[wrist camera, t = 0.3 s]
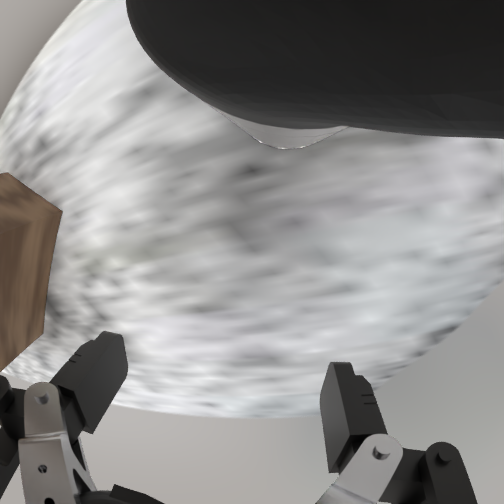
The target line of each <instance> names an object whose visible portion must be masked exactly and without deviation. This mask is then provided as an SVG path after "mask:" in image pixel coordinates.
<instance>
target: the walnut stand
mask: <svg viewBox="0 0 504 504" xmlns="http://www.w3.org/2000/svg"><path fill="white" fill-rule="evenodd" d="M61 215H62V211H61V210H60V209H58V208H57V207H55V206H54V205H52V204H51V203H49V202H48V201H46V200H45V199H44V198H42V197H41V196H39V195H38V194H36V193H35V192H34V191H32V190H31V189H29V188H28V187H27V186H25V185H24V184H22V183H21V182H20V181H18V180H17V179H15V178H14V177H13V176H11V175H10V174H9V173H3V174H0V372H1V371H2V370H3V369H4V368H5V367H6V366H7V365H9V364H10V363H11V362H12V361H13V360H14V359H15V358H16V357H17V356H18V355H19V354H20V353H22V352H23V351H24V350H25V349H26V348H27V347H28V346H29V345H30V344H32V343H33V342H34V341H35V340H36V339H37V338H38V337H39V336H41V335H42V334H43V328H44V316H45V305H46V296H47V289H48V281H49V275H50V268H51V262H52V257H53V252H54V246H55V242H56V237H57V232H58V228H59V223H60V219H61Z"/></svg>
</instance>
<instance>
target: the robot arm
mask: <svg viewBox="0 0 504 504" xmlns="http://www.w3.org/2000/svg"><path fill="white" fill-rule="evenodd" d="M126 7H127V14H128V17H129V20H130V24H131V27H132V29H133V31H134V33H135V35H136V38H137V40H138V41H139V43H140V44H141V46H142V47H143V49H144V51H145V52H146V53H147V54H148V56H149V57H150V58H151V59H152V60H153V61H154V63H155V64H156V65H157V66H158V67H159V68H160V69H161V70H163V71H164V72H165V73H166V74H167V75H168V76H169V77H171V78H172V79H173V80H174V81H176V82H177V83H178V84H180V85H181V86H182V87H183V88H185V89H186V90H188V91H189V92H191V93H192V94H194V95H195V96H197V97H198V98H200V99H201V100H202V101H204V102H205V103H207V104H208V105H209V106H211V107H212V108H214V109H215V110H217V111H218V112H219V113H221V114H222V115H224V116H225V117H227V118H228V119H229V120H231V121H232V122H233V123H235V124H236V125H237V126H239V127H240V128H242V129H243V130H244V131H245V132H247V133H248V134H249V135H251V136H252V137H253V138H254V139H255V140H257V141H259V142H261V143H263V144H266V145H268V146H271V147H274V148H279V149H299V148H303V147H307V146H309V145H311V144H314V143H316V142H318V141H320V140H323V139H325V138H327V137H329V136H331V135H333V134H335V133H337V132H339V131H341V130H344V129H346V128H348V127H356V128H364V129H372V130H380V131H387V132H396V133H404V134H415V135H426V136H443V137H474V138H498V139H504V0H126ZM127 372H128V362H127V357H126V352H125V346H124V340H123V337H122V335H120V334H116V333H112V332H107V331H103V332H102V333H101V334H100V335H99V336H98V337H97V338H96V339H95V340H94V341H93V340H90V341H89V342H87V343H85V344H83V345H81V346H80V348H79V349H78V350H77V351H76V352H75V353H74V355H72V357H71V358H70V359H69V361H67V362H66V363H65V364H64V366H63V367H62V368H61V369H60V370H59V371H58V373H57V374H56V375H55V376H54V377H53V378H52V380H51V381H50V382H49V383H48V382H38V383H35V384H33V385H31V386H30V387H29V388H28V389H27V390H23V389H16V388H11V386H10V384H9V382H8V380H7V379H6V377H4V376H1V375H0V425H1V428H0V499H1V497H2V495H3V493H4V491H5V489H6V488H7V486H8V484H9V482H10V480H11V478H12V476H13V474H14V473H15V471H16V469H17V467H18V466H19V464H20V469H21V478H22V485H23V490H24V497H25V502H26V504H164V503H162V502H160V501H158V500H156V499H154V498H152V497H150V496H148V495H146V494H143V493H140V492H137V491H134V490H130V489H127V488H124V487H121V486H118V485H116V484H114V486H113V489H112V491H97V489H96V486H95V484H94V483H93V481H92V478H91V476H90V472H89V469H88V466H87V462H86V459H85V455H84V451H83V448H82V444H81V439H80V437H79V435H80V433H81V431H85V432H88V433H90V434H93V433H94V431H95V429H96V427H97V425H98V424H99V422H100V420H101V419H102V417H103V415H104V414H105V412H106V410H107V409H108V407H109V405H110V404H111V402H112V400H113V398H114V397H115V395H116V393H117V392H118V390H119V389H120V387H121V385H122V384H123V382H124V380H125V379H126V376H127ZM320 410H321V416H322V423H323V431H324V438H325V446H326V454H327V462H328V469H329V473H339V477H338V478H337V479H336V481H335V482H334V483H333V484H332V485H331V486H330V487H329V488H328V489H327V491H326V492H325V493H324V494H323V495H322V496H321V498H320V499H319V500H318V501H317V503H315V504H377V502H378V501H379V502H388V503H391V504H477V500H476V498H475V494H474V491H473V488H472V486H471V482H470V479H469V477H468V474H467V471H466V468H465V466H464V463H463V460H462V458H461V455H460V453H459V451H458V450H457V449H456V447H454V446H453V445H451V444H449V443H446V442H437V443H434V444H432V445H431V446H430V447H429V448H428V449H427V450H426V451H420V450H412V449H406V448H403V447H402V446H401V444H400V443H399V441H398V440H396V439H395V438H394V437H392V436H390V435H388V433H387V431H386V428H385V425H384V422H383V419H382V416H381V413H380V410H379V407H378V404H377V401H376V398H375V396H374V393H373V390H372V387H371V384H370V383H369V382H368V381H367V380H366V379H365V378H364V377H363V376H362V375H355V374H354V371H353V367H352V365H351V363H350V362H330V364H329V366H328V370H327V373H326V377H325V380H324V383H323V386H322V390H321V394H320Z"/></svg>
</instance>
